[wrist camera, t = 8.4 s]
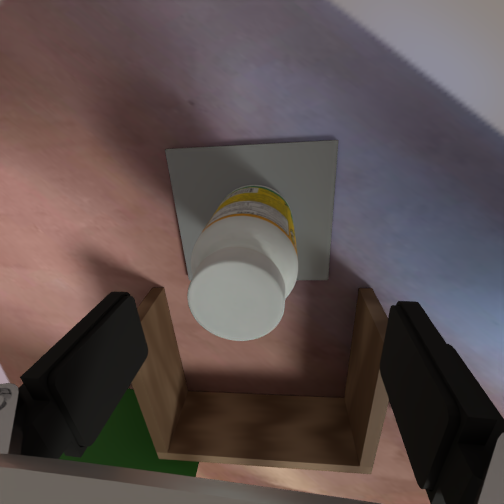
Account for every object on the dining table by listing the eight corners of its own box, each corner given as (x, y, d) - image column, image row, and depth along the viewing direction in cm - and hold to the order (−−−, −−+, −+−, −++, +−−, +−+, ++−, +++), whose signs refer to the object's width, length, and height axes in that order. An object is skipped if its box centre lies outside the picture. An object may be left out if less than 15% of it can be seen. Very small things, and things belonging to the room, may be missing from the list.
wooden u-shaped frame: (372, 288, 22) (402, 345, 16) (353, 405, 28) (371, 474, 22) (152, 287, 24) (115, 338, 18) (180, 396, 30) (158, 458, 24)
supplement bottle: (238, 168, 18) (200, 216, 10) (308, 207, 19) (331, 284, 10) (206, 234, 20) (153, 320, 12) (269, 266, 21) (262, 369, 13)
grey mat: (337, 139, 17) (338, 140, 17) (327, 277, 22) (328, 280, 21) (167, 148, 18) (164, 149, 18) (190, 277, 23) (189, 280, 22)
